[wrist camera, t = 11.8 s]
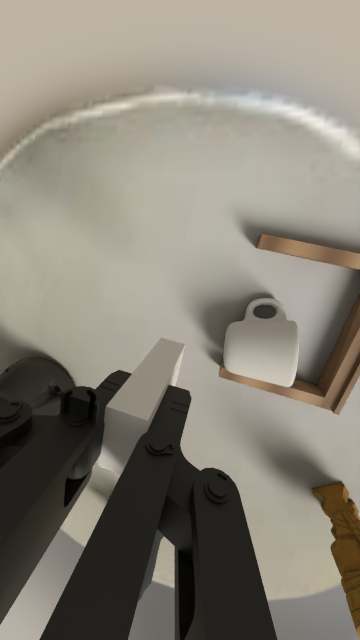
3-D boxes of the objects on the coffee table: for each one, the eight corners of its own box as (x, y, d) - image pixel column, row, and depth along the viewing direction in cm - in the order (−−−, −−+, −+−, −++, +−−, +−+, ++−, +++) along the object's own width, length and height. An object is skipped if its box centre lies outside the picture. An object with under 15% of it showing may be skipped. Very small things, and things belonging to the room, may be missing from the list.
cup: (228, 286, 28) (302, 289, 25) (232, 304, 35) (289, 308, 33) (218, 377, 26) (297, 389, 23) (224, 376, 33) (284, 385, 31)
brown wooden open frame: (219, 366, 35) (218, 378, 31) (259, 235, 29) (263, 233, 25) (327, 398, 32) (338, 414, 29) (395, 263, 26) (418, 265, 23)
